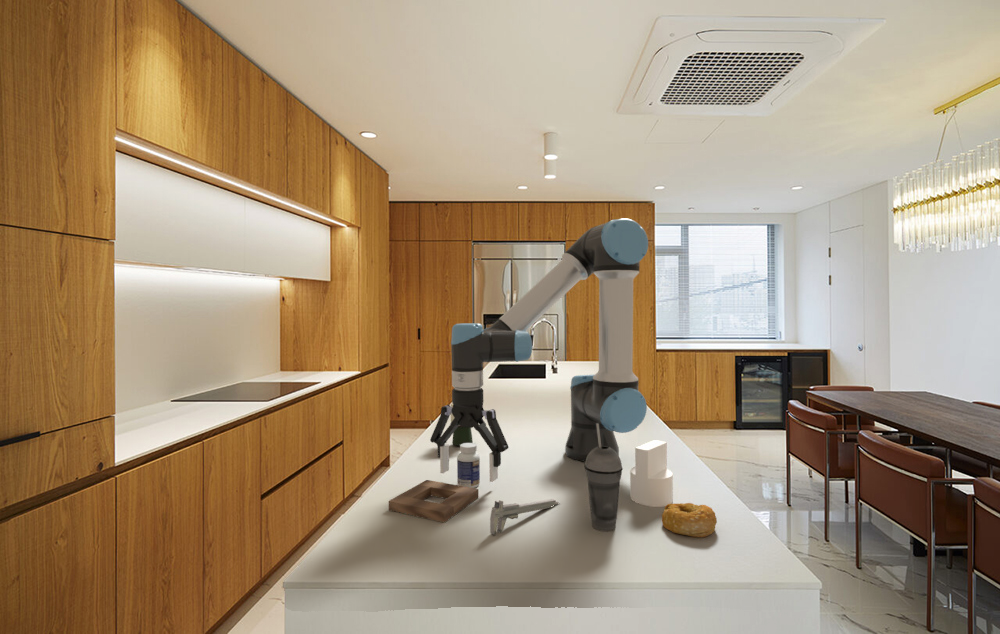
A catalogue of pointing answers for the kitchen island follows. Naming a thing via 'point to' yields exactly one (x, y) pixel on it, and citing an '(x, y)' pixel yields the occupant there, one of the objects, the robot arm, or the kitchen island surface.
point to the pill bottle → (468, 466)
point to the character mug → (461, 434)
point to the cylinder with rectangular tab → (651, 475)
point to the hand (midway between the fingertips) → (468, 475)
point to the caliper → (513, 512)
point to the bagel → (689, 519)
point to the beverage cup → (603, 485)
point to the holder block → (443, 511)
